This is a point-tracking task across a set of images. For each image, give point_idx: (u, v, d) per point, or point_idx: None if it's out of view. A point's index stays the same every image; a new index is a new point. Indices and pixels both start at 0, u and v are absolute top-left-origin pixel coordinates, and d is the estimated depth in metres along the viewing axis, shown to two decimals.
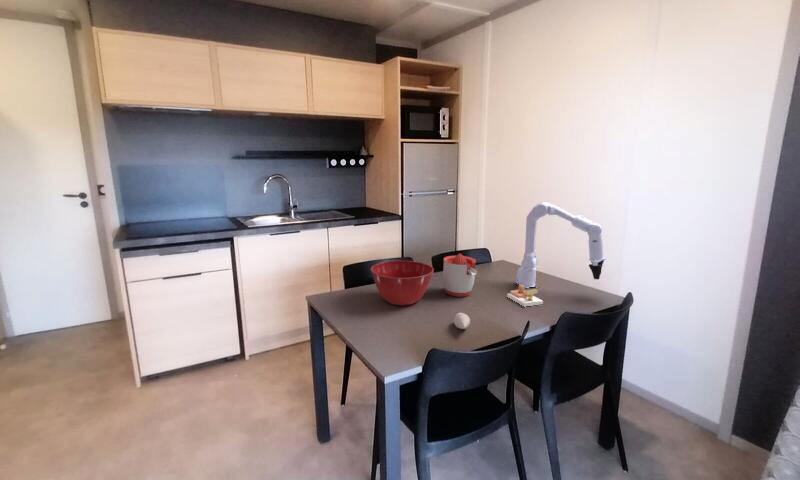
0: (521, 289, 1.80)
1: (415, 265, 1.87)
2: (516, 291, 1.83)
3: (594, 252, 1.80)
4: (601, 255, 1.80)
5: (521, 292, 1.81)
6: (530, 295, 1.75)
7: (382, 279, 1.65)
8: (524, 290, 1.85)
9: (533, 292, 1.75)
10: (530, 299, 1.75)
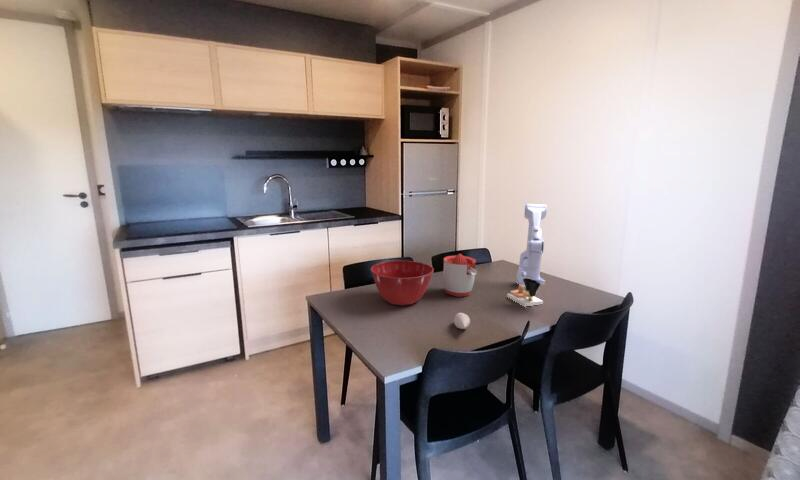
0: (521, 289, 1.80)
1: (415, 265, 1.87)
2: (516, 291, 1.83)
3: None
4: (526, 271, 1.74)
5: (521, 292, 1.81)
6: None
7: (382, 279, 1.65)
8: (524, 290, 1.85)
9: None
10: (530, 299, 1.75)
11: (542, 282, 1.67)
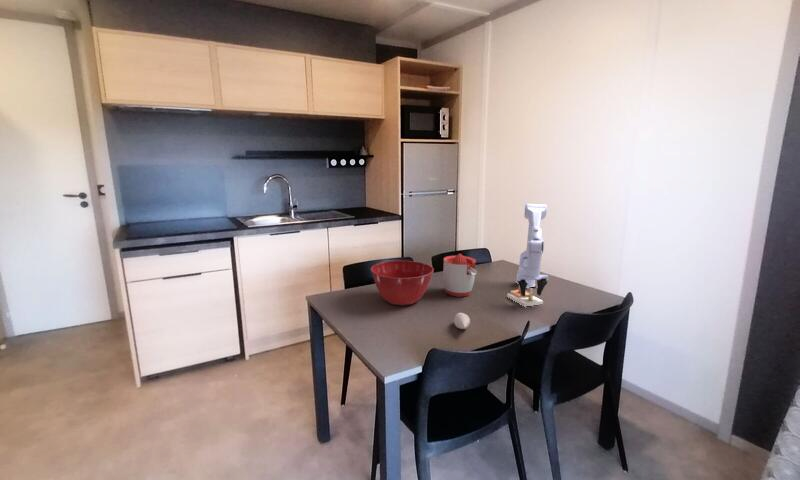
0: None
1: (415, 265, 1.87)
2: (516, 291, 1.83)
3: (527, 268, 1.73)
4: (532, 274, 1.70)
5: None
6: (532, 295, 1.74)
7: (382, 279, 1.65)
8: None
9: (532, 291, 1.75)
10: (532, 299, 1.75)
11: None
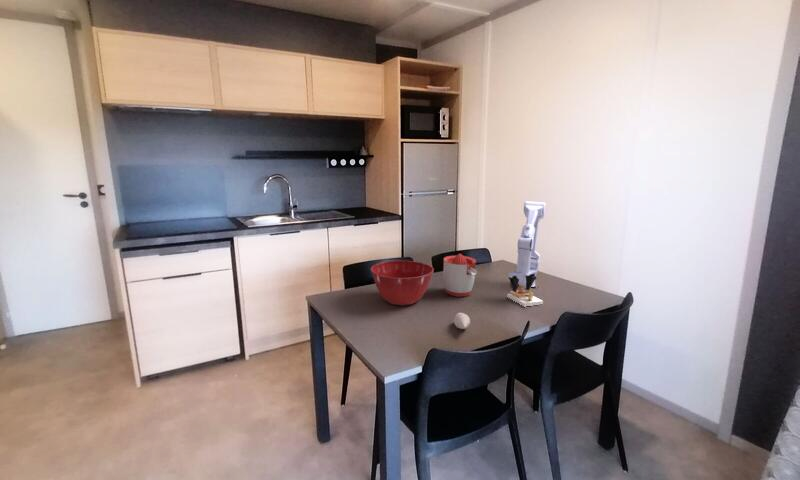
0: (521, 289, 1.80)
1: (415, 265, 1.87)
2: (516, 291, 1.83)
3: (517, 265, 1.79)
4: (523, 270, 1.77)
5: (521, 292, 1.81)
6: None
7: (382, 279, 1.65)
8: (524, 290, 1.85)
9: (532, 291, 1.75)
10: (532, 299, 1.75)
11: None
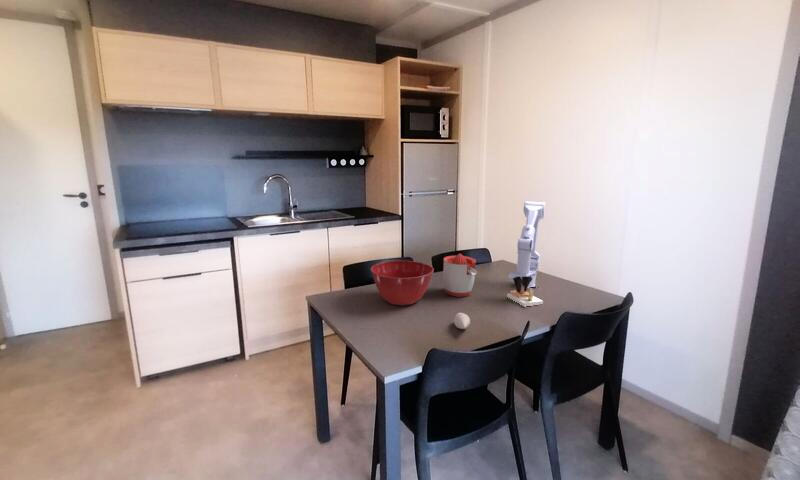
0: (521, 289, 1.80)
1: (415, 265, 1.87)
2: (516, 291, 1.83)
3: (517, 266, 1.79)
4: (523, 271, 1.77)
5: (521, 292, 1.81)
6: None
7: (382, 279, 1.65)
8: None
9: (532, 291, 1.75)
10: (532, 299, 1.75)
11: None
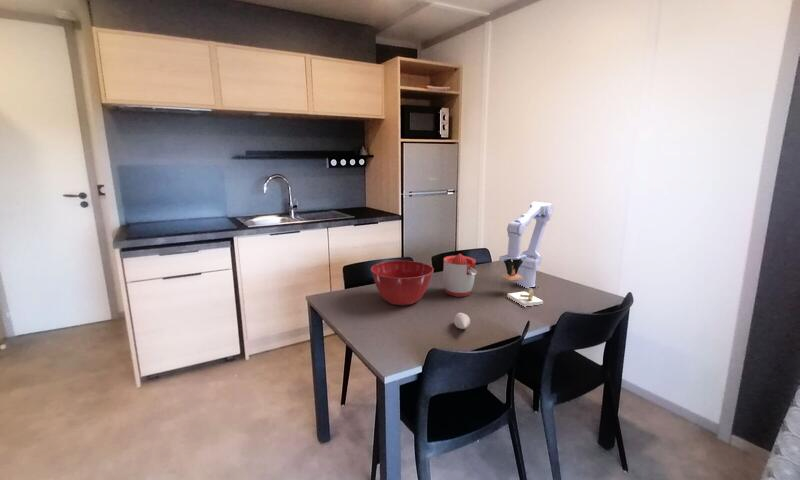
0: (512, 271, 1.86)
1: (415, 265, 1.87)
2: (507, 274, 1.89)
3: (508, 249, 1.85)
4: (514, 254, 1.83)
5: (512, 275, 1.86)
6: None
7: (382, 279, 1.65)
8: None
9: (532, 291, 1.75)
10: (532, 299, 1.75)
11: None
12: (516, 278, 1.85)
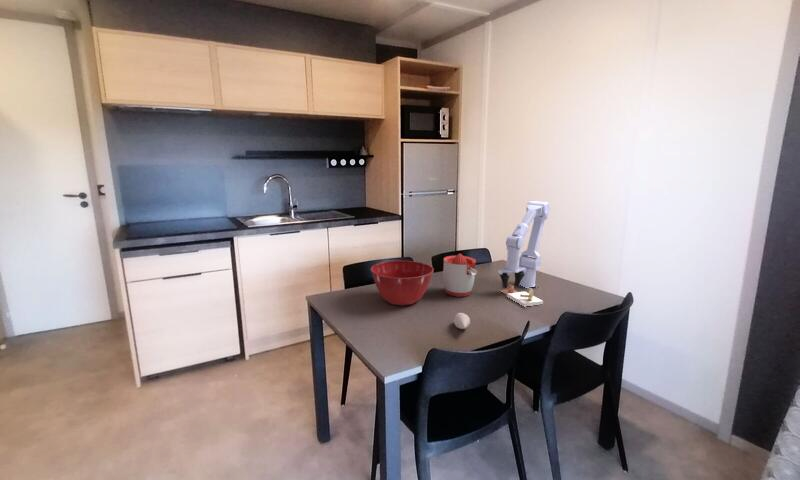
0: (511, 288, 1.88)
1: (415, 265, 1.87)
2: (506, 291, 1.91)
3: (507, 262, 1.86)
4: (513, 267, 1.84)
5: (511, 291, 1.88)
6: None
7: (382, 279, 1.65)
8: (514, 290, 1.92)
9: (532, 291, 1.75)
10: (532, 299, 1.75)
11: None
12: None
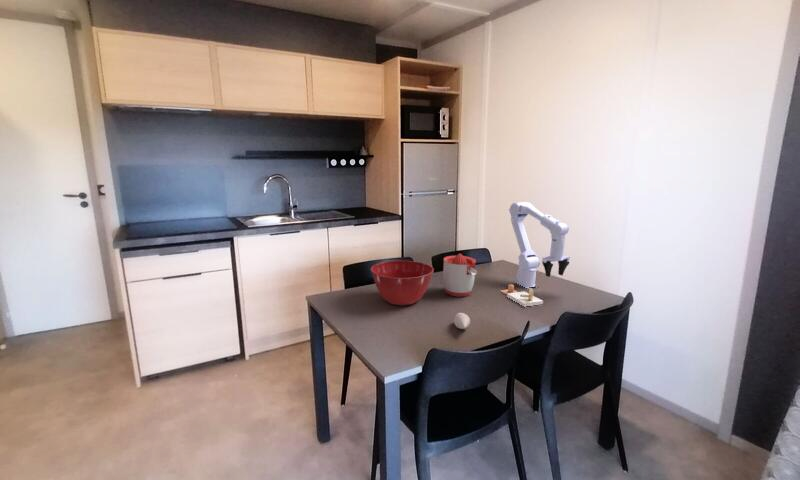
0: (511, 288, 1.88)
1: (415, 265, 1.87)
2: (506, 291, 1.91)
3: (551, 250, 1.84)
4: (557, 255, 1.82)
5: (511, 292, 1.88)
6: None
7: (382, 279, 1.65)
8: (513, 289, 1.93)
9: (532, 291, 1.75)
10: (532, 299, 1.75)
11: None
12: None
